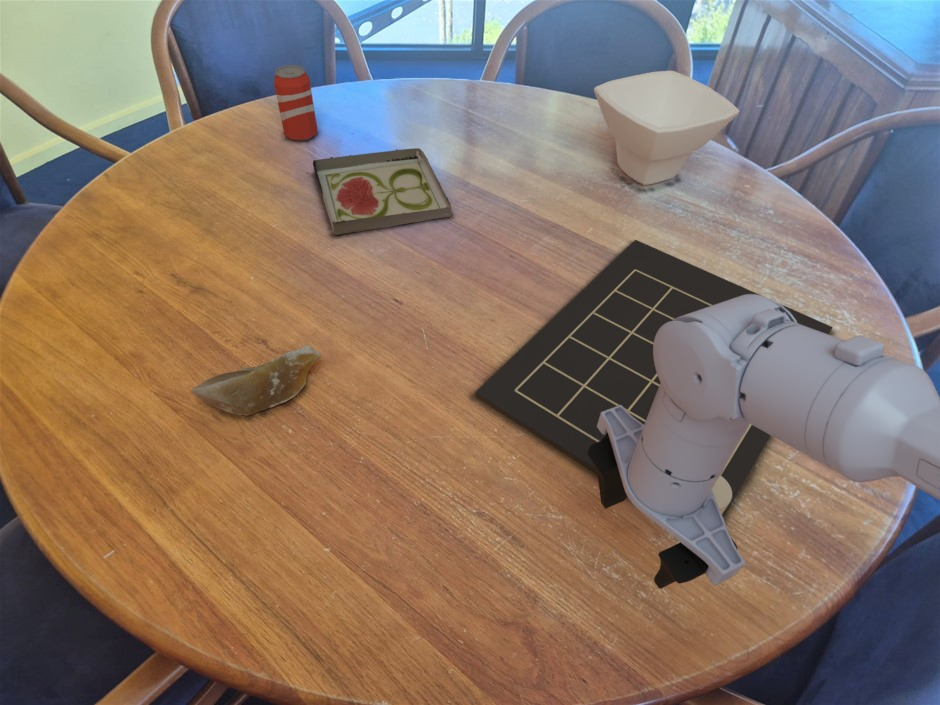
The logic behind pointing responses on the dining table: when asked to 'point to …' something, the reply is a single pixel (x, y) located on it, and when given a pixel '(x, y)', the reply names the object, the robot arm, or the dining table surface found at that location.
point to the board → (613, 355)
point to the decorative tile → (380, 190)
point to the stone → (259, 383)
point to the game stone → (722, 493)
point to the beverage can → (295, 102)
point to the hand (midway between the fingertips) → (638, 539)
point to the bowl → (660, 121)
